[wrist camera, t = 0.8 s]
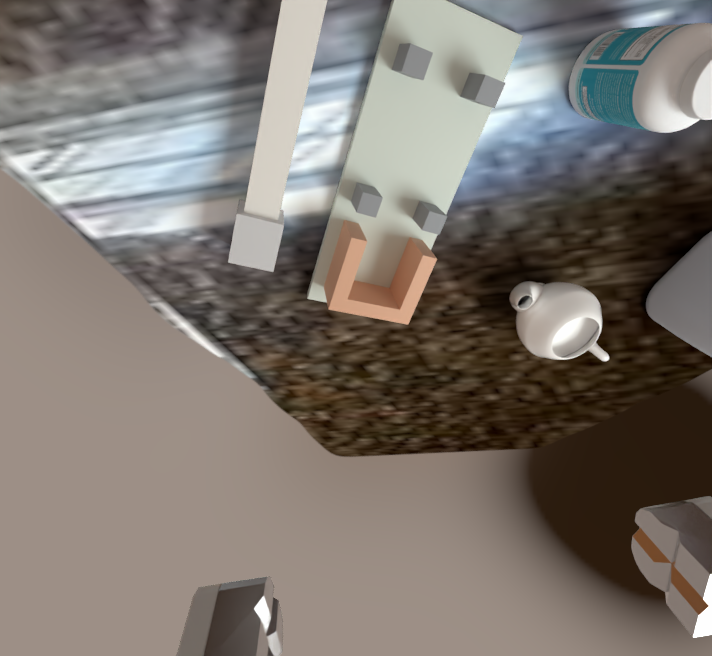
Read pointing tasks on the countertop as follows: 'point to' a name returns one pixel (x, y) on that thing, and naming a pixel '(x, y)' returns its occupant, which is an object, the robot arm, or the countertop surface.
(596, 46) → the pill bottle
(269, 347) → the countertop surface
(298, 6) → the white long bar
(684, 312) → the plastic bottle
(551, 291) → the teapot
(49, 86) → the countertop surface
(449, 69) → the board
